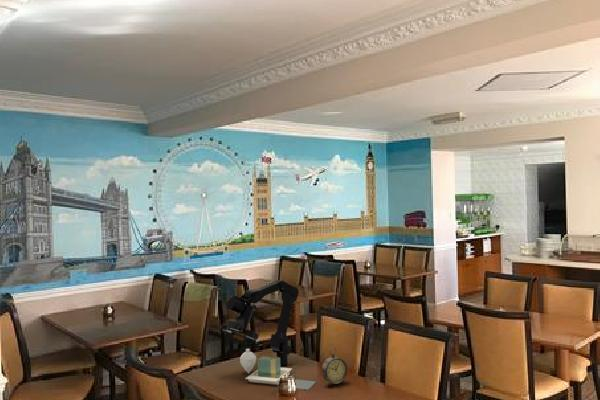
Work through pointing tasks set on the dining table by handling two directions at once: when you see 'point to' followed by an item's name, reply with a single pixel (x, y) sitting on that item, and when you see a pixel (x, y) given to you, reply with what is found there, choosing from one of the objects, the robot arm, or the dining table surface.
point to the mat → (304, 384)
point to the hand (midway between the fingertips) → (232, 349)
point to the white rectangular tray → (255, 378)
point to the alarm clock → (334, 369)
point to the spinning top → (248, 360)
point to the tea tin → (269, 367)
